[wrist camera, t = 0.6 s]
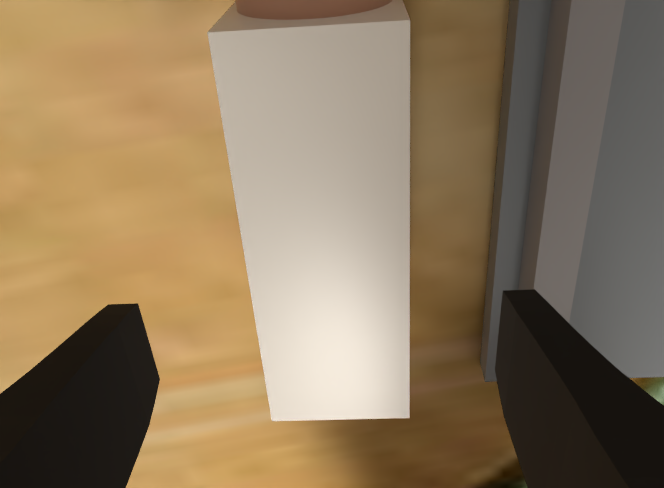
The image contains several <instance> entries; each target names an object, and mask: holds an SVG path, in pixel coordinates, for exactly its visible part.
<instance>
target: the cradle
mask: <svg viewBox="0 0 664 488" xmlns="http://www.w3.org/2000/svg"><path fill="white" fill-rule="evenodd" d="M531 289H535V290H536V291H537V292H538V293H539V294H540V295H541V296H542V297H543V298H544V299H545V300H546V301H547V302H548V303H549V304H550V305H551V306H552V307H553V308H554V309H555V310H556V311H557V312H558V313H559V314H560V315H561V316H562V317H563V318H564V319H565V320H566V321H567V322H568V323H569V324H570V325H571V326H572V327H573V328H574V329H575V330H576V331H577V332H578V333H579V334H581V335H582V336H583V337H584V338H585V339H586V340H587V341H588V342H589V343H590V344H591V345H592V346H593V347H594V348H595V349H596V350H598V351H599V352H600V353H601V354H602V355H603V356H604V357H605V358H606V359H607V360H608V361H610V362H611V363H612V364H613V365H614V366H615V367H616V368H618V369H619V370H620V371H621V372H622V373H623V374H625V375H626V376H627V377H628V378H640V377H664V0H510V2H509V14H508V26H507V39H506V51H505V63H504V75H503V87H502V100H501V112H500V124H499V136H498V149H497V161H496V173H495V185H494V198H493V210H492V222H491V234H490V246H489V259H488V271H487V283H486V295H485V308H484V320H483V332H482V344H481V357H480V364H481V368H482V372H483V376H484V380H485V382H492V381H497V379H496V373H495V363H496V353H497V343H498V333H499V323H500V313H501V303H502V293H503V290H531Z"/></svg>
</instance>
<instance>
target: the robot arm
mask: <svg viewBox="0 0 664 488" xmlns="http://www.w3.org/2000/svg"><path fill="white" fill-rule="evenodd" d="M495 373H496V379H497V384H498V389H499V394H500V399H501V404H502V409H503V413H504V418H505V421H506V424H507V427H508V430H509V433H510V436H511V439H512V442H513V445H514V448H515V451H516V454H517V457H518V460H519V463H520V466H521V469H522V472H523V475H524V478H525V481H526V484H527V487H528V488H664V406H663V405H662V404H661V403H659V402H658V401H657V400H655V399H654V398H653V397H652V396H650V395H649V394H648V393H647V392H645V391H644V390H643V389H642V388H640V387H639V386H638V385H637V384H636V383H634V382H633V381H632V380H631V379H629V378H628V377H627V376H626V375H625V374H623V373H622V372H621V371H620V370H619V369H618V368H616V367H615V366H614V365H613V364H612V363H611V362H610V361H608V360H607V359H606V358H605V357H604V356H603V355H602V354H601V353H600V352H599V351H598V350H596V349H595V348H594V347H593V346H592V345H591V344H590V343H589V342H588V341H587V340H586V339H585V338H584V337H583V336H582V335H581V334H579V333H578V332H577V331H576V330H575V329H574V328H573V327H572V326H571V325H570V324H569V323H568V322H567V321H566V320H565V319H564V318H563V317H562V316H561V315H560V314H559V313H558V312H557V311H556V310H555V309H554V308H553V307H552V306H551V305H550V304H549V303H548V302H547V301H546V300H545V299H544V298H543V297H542V296H541V295H540V294H539V293H538V292H537V291H536V290H535V289H531V290H503V293H502V303H501V313H500V323H499V333H498V343H497V353H496V363H495ZM159 380H160V378H159V375H158V371H157V368H156V364H155V361H154V358H153V354H152V351H151V347H150V344H149V340H148V337H147V333H146V330H145V326H144V323H143V320H142V316H141V313H140V309H139V306H138V304H113V305H107V306H106V307H105V308H103V309H102V310H101V311H99V312H98V313H97V314H96V315H95V316H93V317H92V318H91V319H90V320H89V321H87V322H86V323H85V324H84V325H83V326H82V327H80V328H79V329H78V330H77V331H76V332H75V333H74V334H72V335H71V336H70V337H69V338H68V339H67V340H65V341H64V342H63V343H62V344H61V345H60V346H58V347H57V348H56V349H55V350H54V351H53V352H51V353H50V354H49V355H48V356H47V357H45V358H44V359H43V360H42V361H41V362H40V363H38V364H37V365H36V366H35V367H34V368H32V369H31V370H30V371H29V372H28V373H26V374H25V375H24V376H23V377H21V378H20V379H19V380H17V381H16V382H15V383H14V384H12V385H11V386H10V387H8V388H7V389H6V390H5V391H3V392H2V393H1V394H0V488H126V485H127V483H128V480H129V477H130V475H131V472H132V470H133V467H134V464H135V462H136V459H137V456H138V454H139V451H140V448H141V446H142V443H143V440H144V438H145V435H146V432H147V430H148V427H149V424H150V420H151V416H152V412H153V408H154V403H155V399H156V394H157V390H158V385H159Z"/></svg>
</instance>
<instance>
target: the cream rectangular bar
mask: <svg viewBox="0 0 664 488" xmlns="http://www.w3.org/2000/svg"><path fill="white" fill-rule="evenodd" d="M207 33H208V39H209V45H210V51H211V57H212V63H213V69H214V75H215V81H216V87H217V93H218V99H219V105H220V111H221V117H222V123H223V129H224V135H225V141H226V147H227V153H228V159H229V165H230V171H231V177H232V183H233V189H234V196H235V202H236V208H237V214H238V220H239V226H240V232H241V238H242V244H243V250H244V256H245V262H246V268H247V274H248V280H249V286H250V292H251V298H252V304H253V310H254V316H255V322H256V328H257V334H258V340H259V346H260V352H261V358H262V364H263V370H264V376H265V382H266V388H267V394H268V400H269V406H270V412H271V418H272V421H300V420H344V419H388V418H410V18H409V16H408V13H407V10H406V8H405V5H404V3H403V0H236V1H235V3H234V4H233V5H232V6H231V7H230V8H229V9H228V10H227V11H226V12H225V14H224V15H223V16H222V17H221V18H220V19H219V20H218V21H217V22H216V24H215V25H214V26H213V27H212V28H211V29H210V30H209V31H208V32H207Z"/></svg>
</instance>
